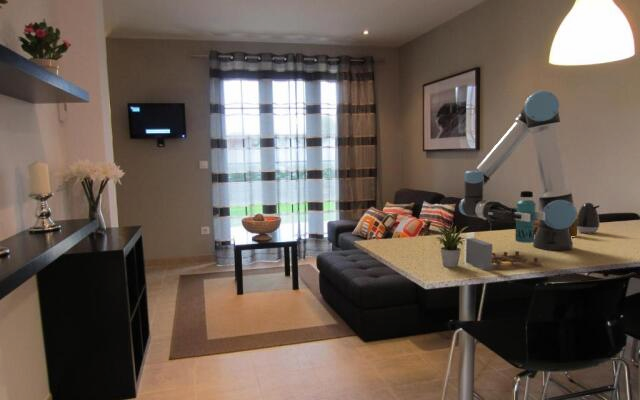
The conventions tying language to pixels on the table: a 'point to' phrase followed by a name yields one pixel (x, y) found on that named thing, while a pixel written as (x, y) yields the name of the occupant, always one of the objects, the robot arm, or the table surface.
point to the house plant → (450, 246)
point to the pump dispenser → (588, 218)
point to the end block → (479, 253)
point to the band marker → (503, 262)
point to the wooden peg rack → (511, 259)
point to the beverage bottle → (522, 227)
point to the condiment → (573, 228)
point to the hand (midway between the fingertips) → (536, 217)
